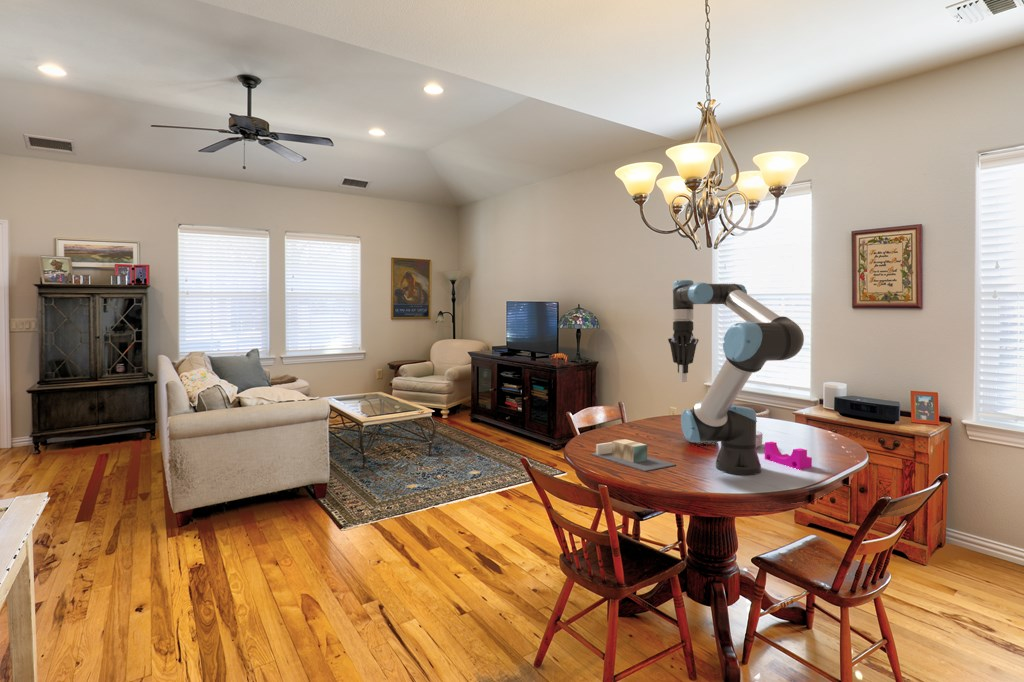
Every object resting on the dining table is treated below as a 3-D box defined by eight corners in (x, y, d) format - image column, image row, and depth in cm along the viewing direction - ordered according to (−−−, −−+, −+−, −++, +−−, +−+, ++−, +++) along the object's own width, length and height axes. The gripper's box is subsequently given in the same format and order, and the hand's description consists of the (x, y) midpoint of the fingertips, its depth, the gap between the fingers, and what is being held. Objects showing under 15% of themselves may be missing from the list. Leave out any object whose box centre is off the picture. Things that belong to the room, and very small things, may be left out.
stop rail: (624, 450, 219) (624, 440, 218) (598, 454, 211) (598, 444, 211) (622, 450, 220) (622, 440, 219) (596, 454, 212) (596, 444, 212)
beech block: (647, 444, 203) (625, 439, 213) (633, 446, 199) (612, 440, 209) (647, 460, 203) (625, 453, 213) (633, 462, 199) (612, 456, 209)
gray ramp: (675, 465, 196) (675, 464, 196) (644, 471, 188) (644, 470, 188) (619, 449, 222) (619, 448, 222) (590, 454, 214) (590, 453, 214)
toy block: (811, 469, 191) (811, 449, 191) (799, 471, 189) (799, 450, 189) (776, 460, 205) (776, 441, 205) (764, 461, 203) (764, 442, 202)
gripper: (703, 320, 201) (703, 382, 201) (676, 320, 212) (676, 379, 212) (690, 320, 197) (690, 383, 197) (663, 320, 208) (663, 380, 208)
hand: (682, 381), depth 205 cm, fingers closed
